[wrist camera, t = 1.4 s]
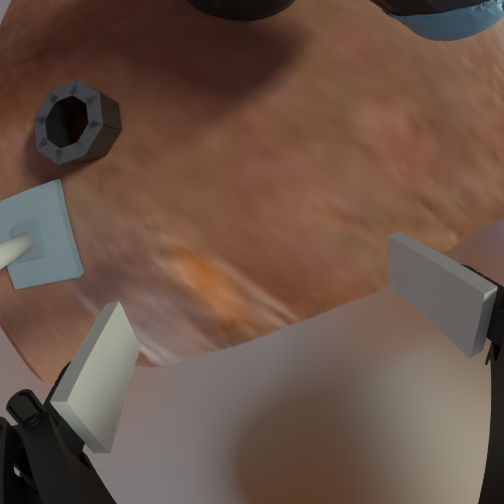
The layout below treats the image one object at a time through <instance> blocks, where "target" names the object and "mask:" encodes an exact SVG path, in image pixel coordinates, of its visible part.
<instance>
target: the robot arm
mask: <svg viewBox="0 0 504 504" xmlns="http://www.w3.org/2000/svg"><path fill="white" fill-rule="evenodd" d="M188 1H189V2H190V3H191V4H192V5H193V6H195V7H196V8H198V9H199V10H201V11H203V12H206V13H208V14H211V15H214V16H217V17H221V18H226V19H234V20H252V19H260V18H265V17H269V16H272V15H274V14H277V13H279V12H281V11H283V10H285V9H286V8H288V7H289V6H290V5H291V4H292V3H293V2H294V1H295V0H188ZM370 1H371V2H373V3H374V4H376V5H377V6H379V7H380V8H381V9H382V11H383V12H384V13H385V14H387V15H388V16H390V17H393V18H395V19H397V20H398V21H400V22H401V23H402V24H404V25H405V26H407V27H408V28H409V29H411V30H412V31H413V32H414V33H416V34H417V35H419V36H421V37H423V38H426V39H429V40H435V41H440V40H441V41H453V40H459V39H463V38H467V37H470V36H472V35H475V34H477V33H479V32H482V31H484V30H486V29H487V28H489V27H491V26H492V25H494V24H495V23H496V22H498V21H499V20H500V19H501V18H502V17H503V16H504V0H370ZM388 252H389V286H391V287H392V288H393V289H394V290H395V291H396V292H398V293H399V294H400V295H401V296H402V297H403V298H404V299H406V300H407V301H408V302H409V303H410V304H411V305H413V306H414V307H415V308H416V309H417V310H418V311H419V312H420V313H422V314H423V315H424V316H425V317H426V318H427V319H428V320H429V321H430V322H432V323H433V324H434V325H435V326H436V327H437V328H438V329H439V330H440V331H441V332H442V333H443V334H445V335H446V336H447V337H448V338H449V339H450V340H451V341H452V342H453V343H454V344H455V345H456V346H457V347H459V349H460V350H462V351H463V352H464V353H465V354H466V355H467V356H468V357H469V358H471V357H472V356H474V355H476V354H477V353H479V352H481V351H482V350H483V347H484V344H485V340H486V337H487V338H488V339H489V340H491V341H492V342H491V346H490V349H489V352H488V355H487V358H486V362H485V365H487V364H488V361H489V360H490V362H491V421H490V435H489V444H488V453H487V460H486V467H485V474H484V479H483V484H482V489H481V493H480V498H479V502H478V504H504V287H503V286H501V285H499V284H498V283H496V282H495V281H493V280H491V279H490V278H488V277H486V276H483V274H481V273H479V272H477V271H476V270H474V269H473V268H471V267H469V266H466V265H462V264H459V263H457V262H455V261H453V260H452V259H449V258H448V257H446V256H444V255H443V254H441V253H439V252H437V251H435V250H433V249H432V248H430V247H428V246H426V245H424V244H422V243H420V242H418V241H416V240H415V239H413V238H411V237H409V236H407V235H405V234H403V233H401V232H399V233H395V234H391V235H388ZM140 348H141V347H140V345H139V343H138V341H137V339H136V337H135V334H134V332H133V330H132V328H131V326H130V324H129V321H128V319H127V317H126V315H125V313H124V310H123V308H122V306H121V303H120V301H117V302H113V303H108V304H106V305H105V307H104V308H103V310H102V311H101V313H100V314H99V316H98V318H97V319H96V321H95V322H94V324H93V326H92V327H91V329H90V331H89V332H88V334H87V335H86V337H85V339H84V340H83V342H82V344H81V345H80V347H79V349H78V351H77V352H76V354H75V356H74V358H73V359H72V361H70V362H69V363H68V364H67V365H66V366H65V367H64V368H63V369H62V371H61V373H60V375H59V376H58V379H57V380H56V382H55V384H54V385H55V386H53V387H52V389H51V391H50V393H49V395H48V397H47V399H46V401H45V402H44V404H43V405H42V404H41V403H40V401H39V400H38V398H37V397H36V396H35V394H34V393H33V392H32V390H29V389H24V390H21V391H19V392H17V393H16V394H15V395H13V396H12V397H11V398H10V400H9V401H8V403H7V406H6V410H7V411H8V412H9V414H10V415H11V416H12V417H13V418H14V420H15V421H16V422H17V423H18V425H14V426H11V425H10V424H9V422H7V420H6V419H5V418H4V417H0V504H116V502H115V501H114V499H113V498H112V496H111V495H110V493H109V492H108V490H107V488H106V487H105V485H104V484H103V482H102V480H101V479H100V477H99V476H98V474H97V472H96V470H95V469H94V467H93V465H92V464H91V462H90V460H89V458H88V456H87V455H86V454H85V453H84V452H83V451H82V450H83V447H84V444H86V445H87V446H88V447H89V448H90V449H91V450H92V452H93V453H111V448H112V444H113V441H114V437H115V433H116V429H117V425H118V421H119V418H120V414H121V411H122V407H123V404H124V400H125V397H126V393H127V390H128V386H129V383H130V380H131V377H132V373H133V370H134V367H135V364H136V361H137V358H138V355H139V351H140ZM14 467H15V468H16V469H18V470H19V471H20V476H17V475H16V474H15V472H14Z"/></svg>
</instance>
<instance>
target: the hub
mask: <svg viewBox="0 0 504 504" xmlns="http://www.w3.org/2000/svg"><path fill="white" fill-rule="evenodd" d="M85 107H87V114H88V123H89V124H88V125H87V127H86V129H85V130H84V132H83V134H82V135H81V137H80V139H79V140H78V142H77V143H74V142H73V141H72V135H71V127H70V124H71V123H72V121H73V119H74V118H75V116H76V114H77V113H78V111H79V110H80V109H82V108H85ZM34 130H35V140H36V148H37V150H38V151H39V152H40V153H42V154H43V155H44V156H46V157H47V158H48V159H50V160H51V161H52V162H54V163H55V164H57V165H63V164H75V163H84V162H87V161H90V160H93V159H96V158H100V157H103V156H106V155H107V154H108V152H109V150H110V149H111V147H112V145H113V144H114V142H115V141H116V139H117V137H118V136H119V134H120V133H121V130H122V127H121V119H120V111H119V104H118V103H117V102H116V101H114V100H112V99H111V98H109V97H107V96H106V95H104V94H103V93H101V92H99V91H97V90H96V89H94V88H92V87H90V86H88V85H86V84H84V83H83V82H81V81H79V80H75V81H72V82H70V83H67V84H65V85H63V86H60V87H58V88H56V89H53V90H51V91H50V92H49V93H48V95H47V97H46V98H45V100H44V102H43V104H42V105H41V107H40V109H39V111H38V113H37V114H36V116H35V118H34Z"/></svg>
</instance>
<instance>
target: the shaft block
mask: <svg viewBox="0 0 504 504" xmlns="http://www.w3.org/2000/svg"><path fill="white" fill-rule="evenodd" d="M6 265H7V268H8V271H9V274H10V277H11V280H12V283H13V285H14V288H15V290H16V289H21V288H26V287H31V286H37V285H42V284H47V283H52V282H57V281H63V280H68V279H73V278H78V277H80V276H81V275H82V274H83V273H84V271H83V267H82V264H81V261H80V258H79V254H78V251H77V247H76V244H75V240H74V237H73V233H72V229H71V225H70V221H69V217H68V213H67V208H66V204H65V199H64V194H63V189H62V184H61V179H57V180H53V181H50V182H47V183H45V184H42V185H39V186H37V187H34V188H32V189H29V190H26V191H24V192H21V193H19V194H17V195H14V196H12V197H9V198H7V199H5V200H2V201H0V269H2V268H3V267H5V266H6Z"/></svg>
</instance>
